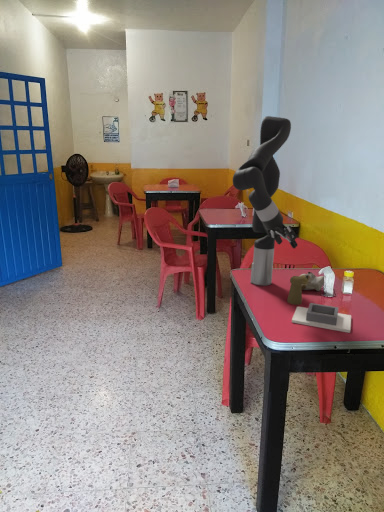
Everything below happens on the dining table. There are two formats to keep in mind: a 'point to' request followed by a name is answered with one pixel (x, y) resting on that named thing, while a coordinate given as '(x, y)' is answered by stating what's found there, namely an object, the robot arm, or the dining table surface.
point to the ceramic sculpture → (312, 281)
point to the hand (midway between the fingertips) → (287, 244)
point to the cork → (295, 290)
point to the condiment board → (322, 317)
